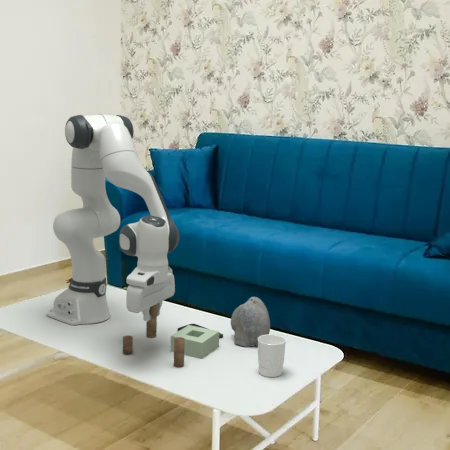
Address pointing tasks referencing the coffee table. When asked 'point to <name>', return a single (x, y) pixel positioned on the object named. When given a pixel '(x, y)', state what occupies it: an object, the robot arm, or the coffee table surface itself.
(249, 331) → the decorative stone
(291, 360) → the coffee table surface
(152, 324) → the pin long
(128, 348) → the pin short
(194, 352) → the socket block
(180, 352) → the pin medium
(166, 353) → the coffee table surface
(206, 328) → the phone
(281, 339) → the white cup
